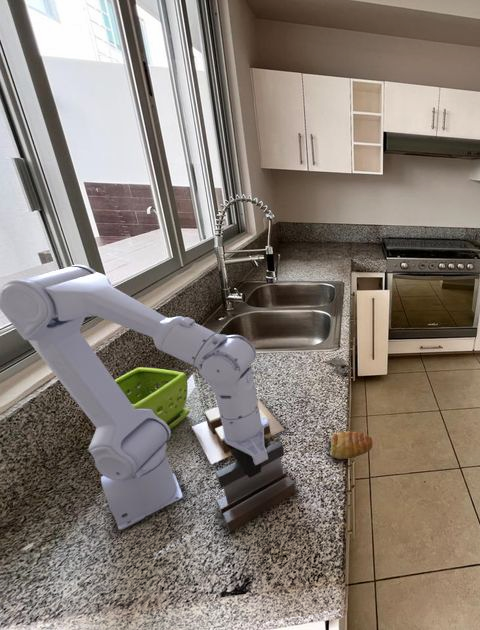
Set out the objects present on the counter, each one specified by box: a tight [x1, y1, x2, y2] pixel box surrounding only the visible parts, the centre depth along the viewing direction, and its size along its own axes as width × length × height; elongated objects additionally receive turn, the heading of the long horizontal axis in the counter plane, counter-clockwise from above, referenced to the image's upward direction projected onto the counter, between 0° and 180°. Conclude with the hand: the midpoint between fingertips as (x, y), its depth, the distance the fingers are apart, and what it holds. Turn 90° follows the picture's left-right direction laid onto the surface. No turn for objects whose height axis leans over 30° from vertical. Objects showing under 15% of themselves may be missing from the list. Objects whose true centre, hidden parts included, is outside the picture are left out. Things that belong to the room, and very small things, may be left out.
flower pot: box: [114, 366, 191, 431], centre depth 80 cm, size 14×14×13 cm
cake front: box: [215, 410, 270, 453], centre depth 79 cm, size 10×5×4 cm, turn 134°
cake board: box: [191, 399, 286, 466], centre depth 82 cm, size 16×16×1 cm
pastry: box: [329, 430, 373, 460], centre depth 77 cm, size 9×7×4 cm
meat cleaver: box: [328, 357, 348, 376], centre depth 110 cm, size 12×1×5 cm
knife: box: [215, 440, 285, 505], centre depth 62 cm, size 11×2×8 cm, turn 134°
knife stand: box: [216, 466, 297, 534], centre depth 64 cm, size 12×6×2 cm, turn 134°
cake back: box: [203, 406, 222, 435], centre depth 84 cm, size 10×5×4 cm, turn 134°
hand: (252, 470), depth 62 cm, fingers closed on knife, 1 cm apart
